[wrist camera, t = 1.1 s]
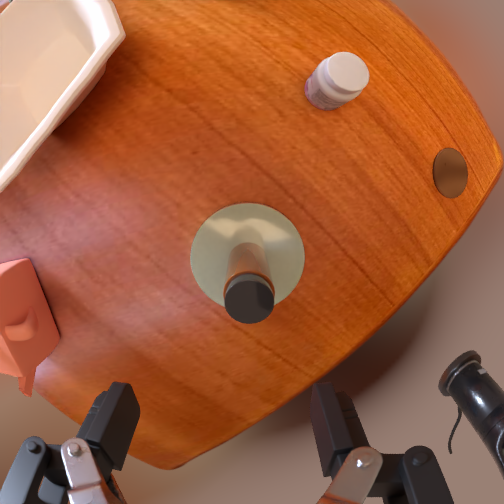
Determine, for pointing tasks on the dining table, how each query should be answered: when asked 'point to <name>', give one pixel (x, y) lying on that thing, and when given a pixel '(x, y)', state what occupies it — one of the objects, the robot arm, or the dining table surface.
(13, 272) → the teapot
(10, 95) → the bowl
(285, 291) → the plate
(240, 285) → the spice bottle
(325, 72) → the pill bottle
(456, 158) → the coaster
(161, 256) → the dining table surface
